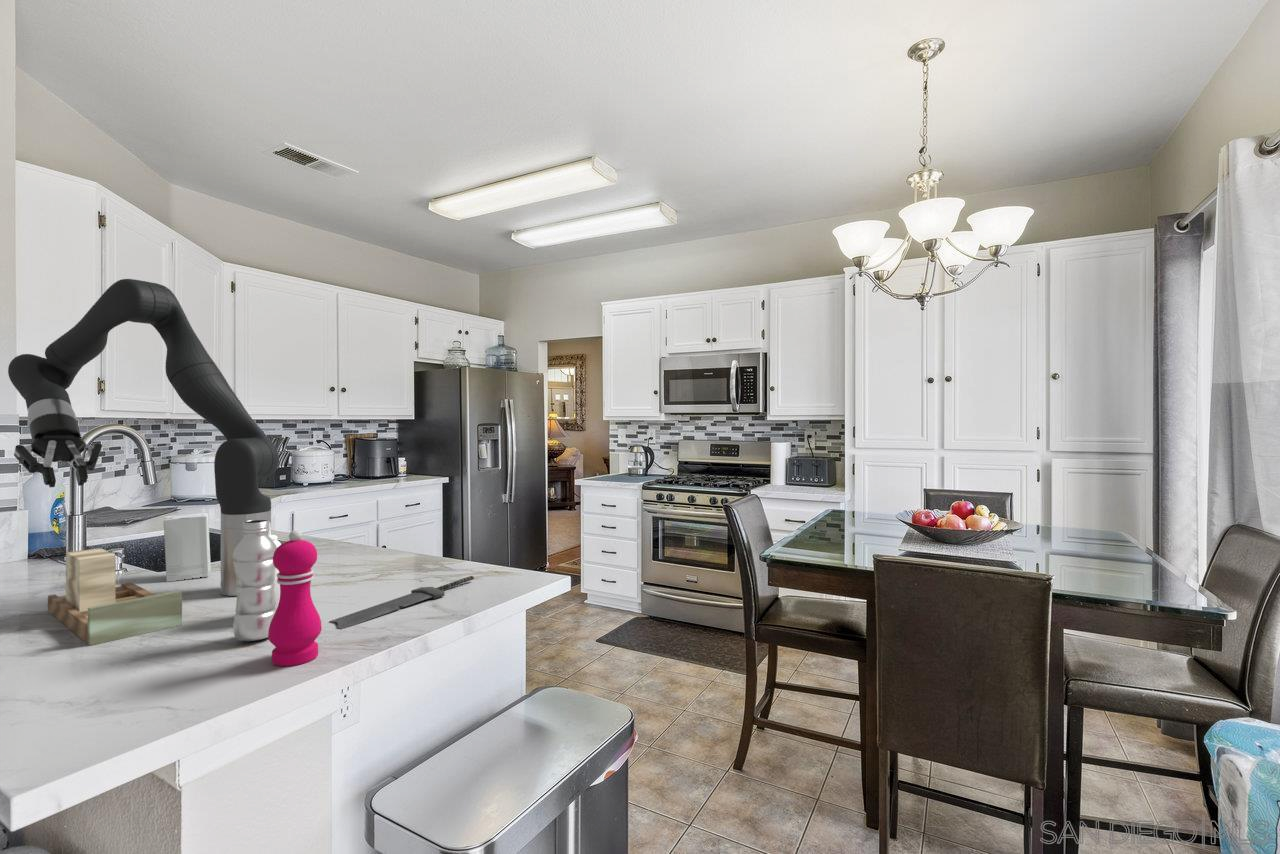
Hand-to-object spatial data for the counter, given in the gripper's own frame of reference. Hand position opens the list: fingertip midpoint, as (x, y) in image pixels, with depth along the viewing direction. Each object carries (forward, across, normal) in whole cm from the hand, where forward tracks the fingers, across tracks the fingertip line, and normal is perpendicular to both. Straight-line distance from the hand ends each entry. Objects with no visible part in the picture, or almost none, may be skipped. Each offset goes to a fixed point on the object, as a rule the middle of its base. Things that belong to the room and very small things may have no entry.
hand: (67, 483), depth 123 cm
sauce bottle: (+49, +20, -14) cm, 55 cm away
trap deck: (+32, +2, +2) cm, 32 cm away
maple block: (+28, 0, +3) cm, 28 cm away
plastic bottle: (+56, +13, -22) cm, 62 cm away
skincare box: (+16, +21, +19) cm, 32 cm away
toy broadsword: (+58, +41, -23) cm, 75 cm away
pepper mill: (+66, +13, -32) cm, 75 cm away
